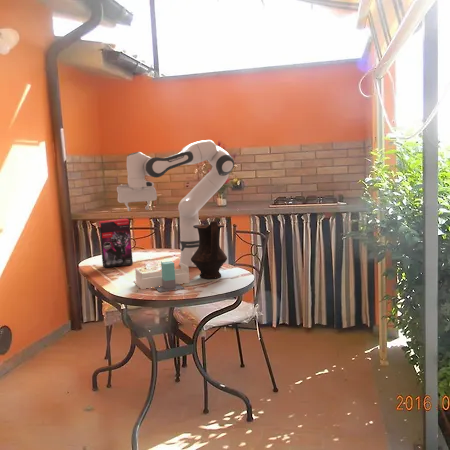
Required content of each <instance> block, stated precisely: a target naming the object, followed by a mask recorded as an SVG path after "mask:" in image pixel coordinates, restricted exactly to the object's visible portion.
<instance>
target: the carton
mask: <svg viewBox="0 0 450 450" xmlns="http://www.w3.org/2000/svg"><path fill="white" fill-rule="evenodd" d="M179 263H180V262H179ZM180 264H181V266H180V268H175V283H176V284H179V285H184V284H183V283H185V284H190V268H189V267H190V266H186V265H184V264H183V263H180ZM134 271H135V272H134V274H135V280H133V283H134V284H135V285H137V287H138V288H140V289H141V290H146V288H149V289H152V288H151V287H159V286H163V284H162V270H159V271H150V272H144V273H142V272H141V271H140V270H139V268H137V267H135V269H134Z"/></svg>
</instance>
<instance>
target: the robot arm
mask: <svg viewBox="0 0 450 450" xmlns="http://www.w3.org/2000/svg"><path fill="white" fill-rule="evenodd" d="M204 161H207V162H208V163H209V164H210V165H211V169H210V170H209V171H208V173H206V175H204V176H203V177H202V179H200V181H198V183H196V185H194V186H193V188H192V189H191V190H190V191H189V192H188V193H187V194H186V195H185V196H184V197H183V198H181V200H180V201H179V203H178V207H177V208H178V212H179V234H180V236H179V237H180V238H179V239H180V240H179V249H180V256H179V257H180V258H179V263H178V265H179V266H180V267H181V264H180V263H183V264H184V265H186V266H188V267H192V268H193V267H194V268H197V266H196V265H195V264H194V263H193V262H192V261H191V258H192V256H193V255H194V253H195V252H196V251H197V249H198V247H199V244H200V243H199V242H200V241H199V233H198V229H197V228H194V227H193V226H194V225H200V222H199V221H200V220H199V218H200V216H199V213H200V212H199V211H200V210H201V209H202V208H203V207H204V206H205V205H206V204H207V203H208V201H209V200H211V198H212V197H213V196H214V195H215V194H216V193H217V192H218V191H219V190H221V188H222V187H223V185H225V184H226V181H228V179H229V176H230V173H231V172H232V171H233V169H234V168H235V160H234V158H233V156H231V155H230V154H229V152H227V151H226V150H225V149H224V148H222V147H221V146H219V145H217V144H216V143H215V142H214V141H213V140H212V139H206V140H204V139H203V140H199V141H195V142H191V143H189V144H187V145H185V146H184V147H182V149H181V150H180V152H178V153H175V154H172V155H169V156H167V157H157V156H156V157H152V156H149V155H146V154H144V153H143V152H141V151H137V152H132V153H129V154H128V155H127V156H126V171H127V184H125V183H124V184H119V185H117V187H116V192H117V202H118V203H120V204H124V205H125V207H126V208H127V212H131V211H132V209H131V208H132V207H129V203H137V202H146V203H147V205H146V206H144V207H145V211H146V210H149V209H150V204H151V202H153V201H156V200H157V199H158V195H157V194H158V193H157V190H156V188H155V187H154V186H155V183H154V182H152V181H149V180H145V179H146V176H148V177H152V178H160V177H161V178H162V176H164V175H165V174H166V173H167V172H169V171H170V170H172V169H175V168H177V167H181V166H183V165H184V166H185V165H186V166H188V165H189V166H190V165H196V164H200V163H203V162H204Z"/></svg>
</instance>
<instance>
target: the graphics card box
mask: <svg viewBox="0 0 450 450" xmlns="http://www.w3.org/2000/svg"><path fill="white" fill-rule="evenodd" d="M98 228H99V236H100V237H99V239H100V240H99V241H100V249H101V251H100V252H101V260H102V267H103V268H104V269H108V268H114V267H115V268H116V267H123V266H129V265H133V264H134V263H133V262H134V261H133V251H132V250H133V249H132V239H131V229H130V219H128V218H120V219H108V220H99V221H98Z"/></svg>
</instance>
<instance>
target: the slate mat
mask: <svg viewBox="0 0 450 450" xmlns="http://www.w3.org/2000/svg"><path fill="white" fill-rule="evenodd" d="M153 289H155V290H156V289H157V290H158V291H159V292H160V293H163V292H162V291H167V292H170V291H169V290H174V291H176V290H175V289H181V290H185V287H183V286H182V284H176V288H172V289H164V288H163V286H160V287H154V288H153ZM157 290H156V291H157ZM158 291H157V292H158ZM159 292H158V293H159Z"/></svg>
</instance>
